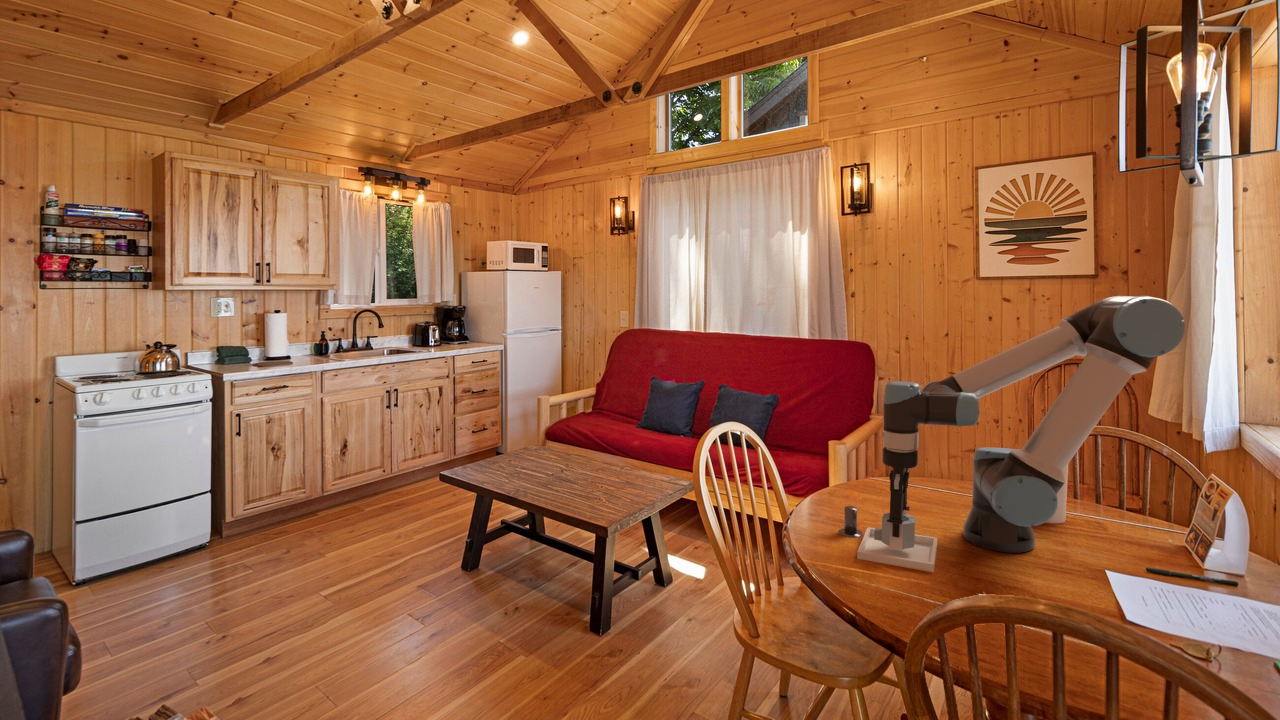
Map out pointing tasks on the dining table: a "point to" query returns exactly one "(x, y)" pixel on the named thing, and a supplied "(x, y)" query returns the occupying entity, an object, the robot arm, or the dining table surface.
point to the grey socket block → (907, 531)
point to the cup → (1061, 502)
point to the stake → (850, 523)
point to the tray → (899, 552)
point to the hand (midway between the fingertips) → (897, 542)
